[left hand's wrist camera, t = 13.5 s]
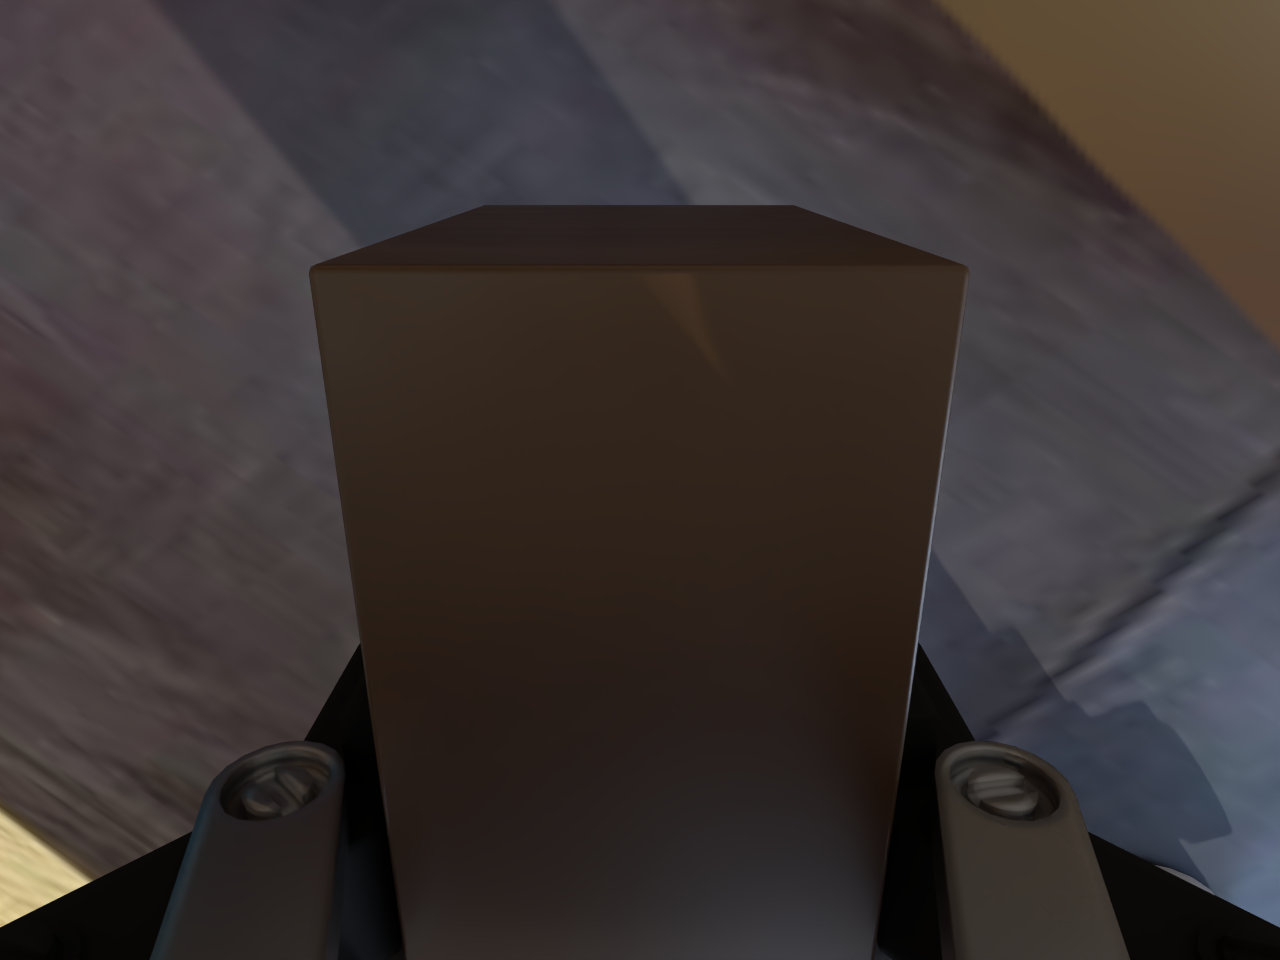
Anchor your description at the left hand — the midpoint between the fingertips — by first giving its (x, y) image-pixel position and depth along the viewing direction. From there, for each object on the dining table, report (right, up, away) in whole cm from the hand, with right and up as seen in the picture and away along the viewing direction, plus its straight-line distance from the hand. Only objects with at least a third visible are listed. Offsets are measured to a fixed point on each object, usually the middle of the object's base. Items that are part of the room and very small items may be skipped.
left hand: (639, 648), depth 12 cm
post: (0, -31, +14) cm, 34 cm away
